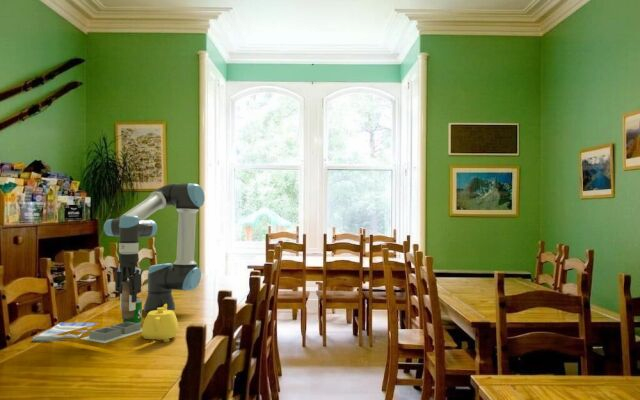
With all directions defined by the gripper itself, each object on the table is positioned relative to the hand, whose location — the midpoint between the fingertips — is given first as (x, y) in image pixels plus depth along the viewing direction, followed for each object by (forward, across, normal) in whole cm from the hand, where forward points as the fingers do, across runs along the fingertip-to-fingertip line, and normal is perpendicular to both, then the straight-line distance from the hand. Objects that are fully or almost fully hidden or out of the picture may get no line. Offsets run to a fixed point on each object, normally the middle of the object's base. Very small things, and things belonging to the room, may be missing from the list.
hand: (127, 309), depth 187 cm
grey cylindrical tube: (+3, 0, 0) cm, 3 cm away
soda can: (+10, -8, +10) cm, 16 cm away
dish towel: (+10, -21, -11) cm, 26 cm away
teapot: (+10, +18, 0) cm, 20 cm away
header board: (+10, 0, -6) cm, 11 cm away
